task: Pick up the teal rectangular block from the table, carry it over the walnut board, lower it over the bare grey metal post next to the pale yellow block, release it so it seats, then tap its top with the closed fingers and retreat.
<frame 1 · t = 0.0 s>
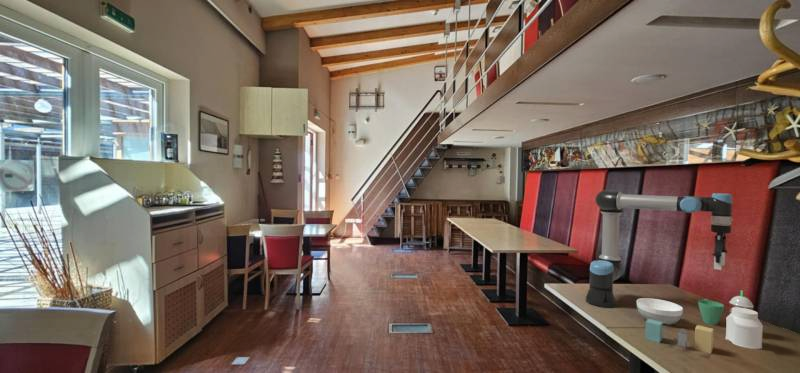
hand: (719, 267, 180), 28 cm above the table, fingers open, 13 cm apart
mug: (708, 321, 183), on the table
teal rectangular block: (653, 341, 159), on the table
smoothie: (740, 333, 169), on the table
board: (690, 350, 151), on the table
pale yellow block: (703, 349, 150), resting on board
post: (682, 347, 151), resting on board
bowl: (658, 321, 181), on the table
jar: (743, 345, 157), on the table
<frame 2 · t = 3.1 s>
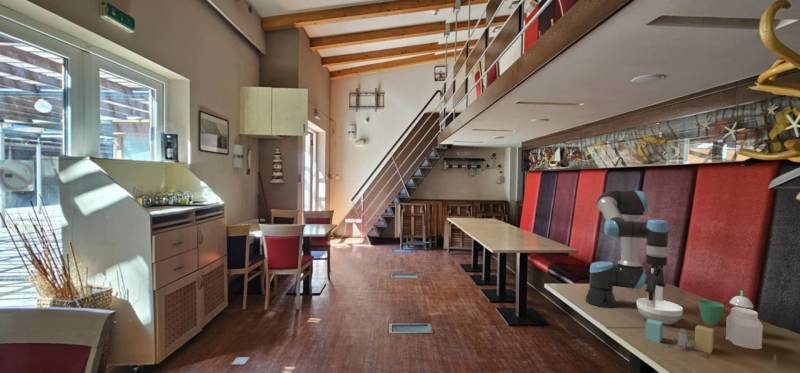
hand: (655, 304, 158), 17 cm above the table, fingers open, 13 cm apart
nothing on the table moved.
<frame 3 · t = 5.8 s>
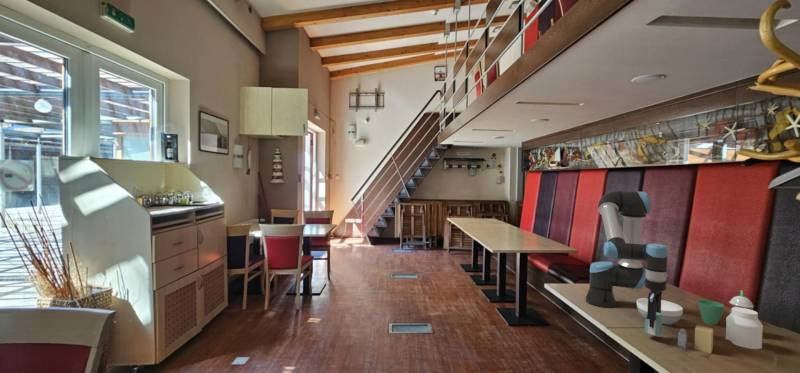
hand: (653, 331, 159), 4 cm above the table, fingers closed on teal rectangular block, 5 cm apart
teal rectangular block: (653, 332, 159), point 4 cm above the table, touching gripper
everything else where it was.
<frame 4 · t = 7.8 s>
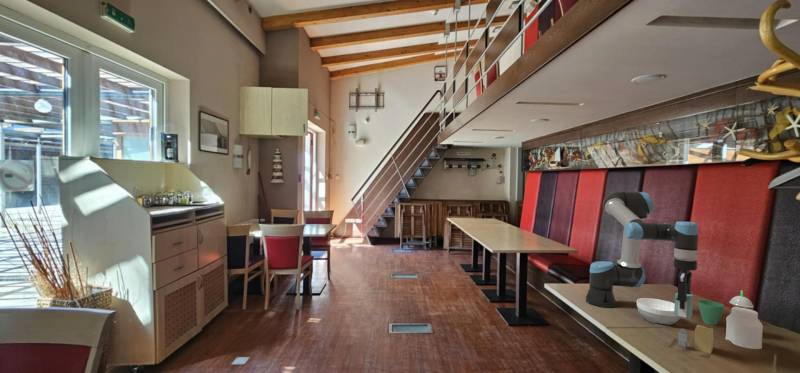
hand: (683, 314, 151), 15 cm above the table, fingers closed on teal rectangular block, 5 cm apart
teal rectangular block: (683, 315, 151), point 14 cm above the table, touching gripper
everything else where it was.
when the fingers open (2 cm above the table, at t = 10.2 s): teal rectangular block stays where it is, resting on board.
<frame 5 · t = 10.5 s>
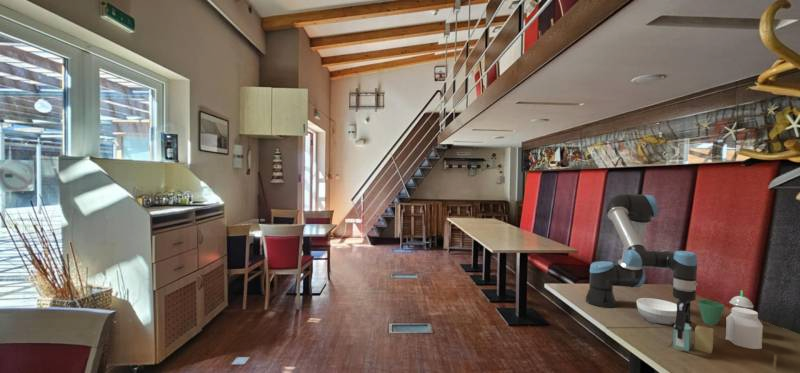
hand: (682, 341, 151), 3 cm above the table, fingers open, 10 cm apart
teal rectangular block: (681, 347, 151), point 1 cm above the table, touching board
everything else where it was.
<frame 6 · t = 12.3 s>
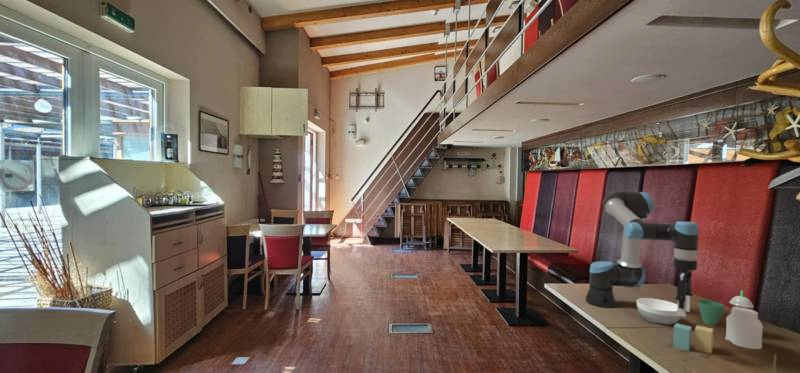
hand: (683, 313, 151), 15 cm above the table, fingers open, 8 cm apart
nothing on the table moved.
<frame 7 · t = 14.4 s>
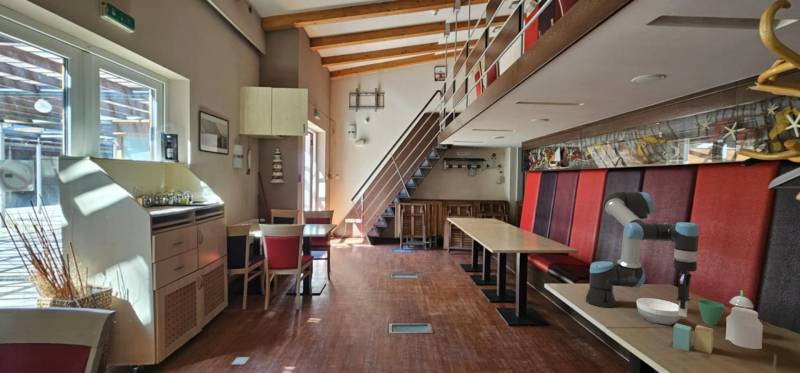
hand: (682, 315, 151), 14 cm above the table, fingers closed
nothing on the table moved.
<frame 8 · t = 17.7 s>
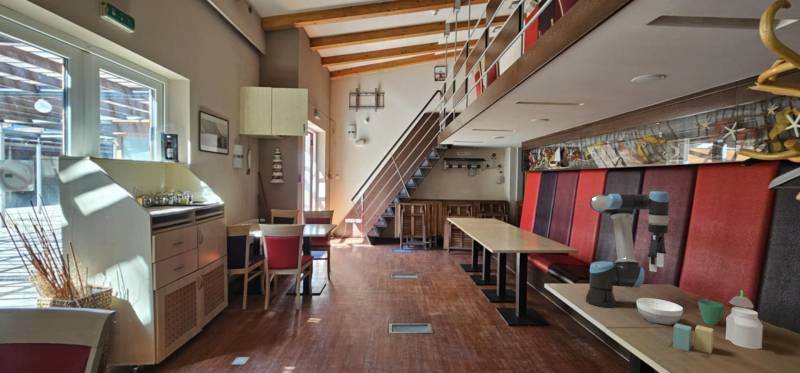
hand: (656, 269, 171), 29 cm above the table, fingers open, 13 cm apart
nothing on the table moved.
at the end: teal rectangular block 0.1 cm from the post (horizontally); teal rectangular block point 1.0 cm above the table; teal rectangular block tilted 0° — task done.
